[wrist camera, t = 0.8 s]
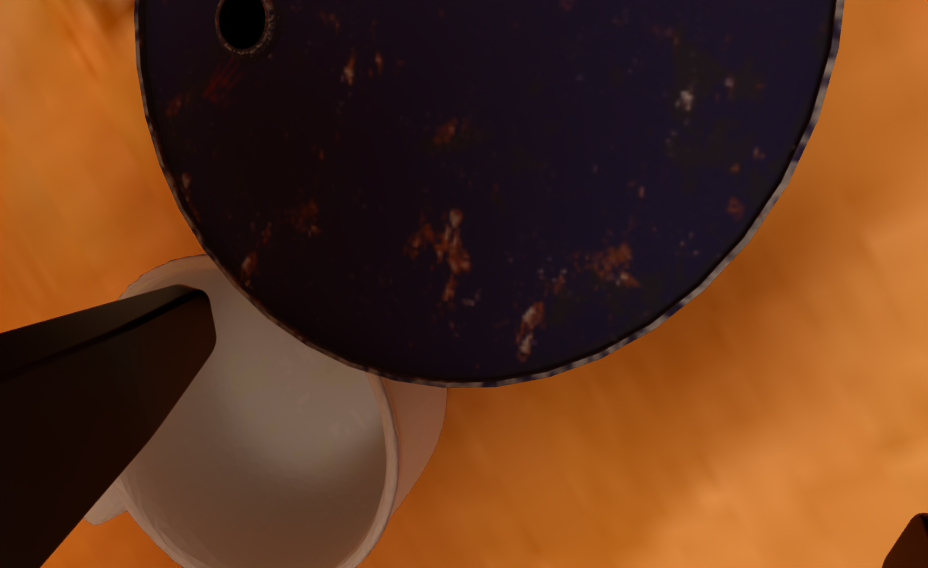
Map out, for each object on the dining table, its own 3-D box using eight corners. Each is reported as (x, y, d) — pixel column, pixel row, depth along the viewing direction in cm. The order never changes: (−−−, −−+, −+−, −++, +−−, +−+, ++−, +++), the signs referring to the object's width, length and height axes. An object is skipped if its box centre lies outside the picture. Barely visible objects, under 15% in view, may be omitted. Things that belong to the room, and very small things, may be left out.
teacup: (429, 196, 25) (313, 205, 18) (516, 470, 26) (438, 591, 18) (157, 293, 30) (-23, 332, 23) (234, 520, 31) (82, 631, 23)
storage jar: (787, -35, 20) (972, -508, 6) (728, 286, 22) (767, 475, 8) (473, -39, 23) (127, -361, 9) (445, 242, 25) (123, 325, 11)
